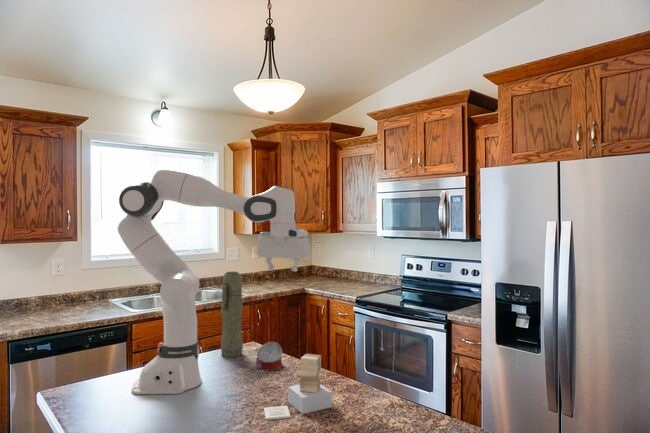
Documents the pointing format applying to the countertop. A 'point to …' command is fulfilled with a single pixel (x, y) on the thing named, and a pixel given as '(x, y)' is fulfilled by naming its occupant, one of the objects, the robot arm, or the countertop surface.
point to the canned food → (269, 356)
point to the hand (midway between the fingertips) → (282, 270)
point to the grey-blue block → (309, 399)
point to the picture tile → (276, 412)
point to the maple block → (310, 373)
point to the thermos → (231, 316)
